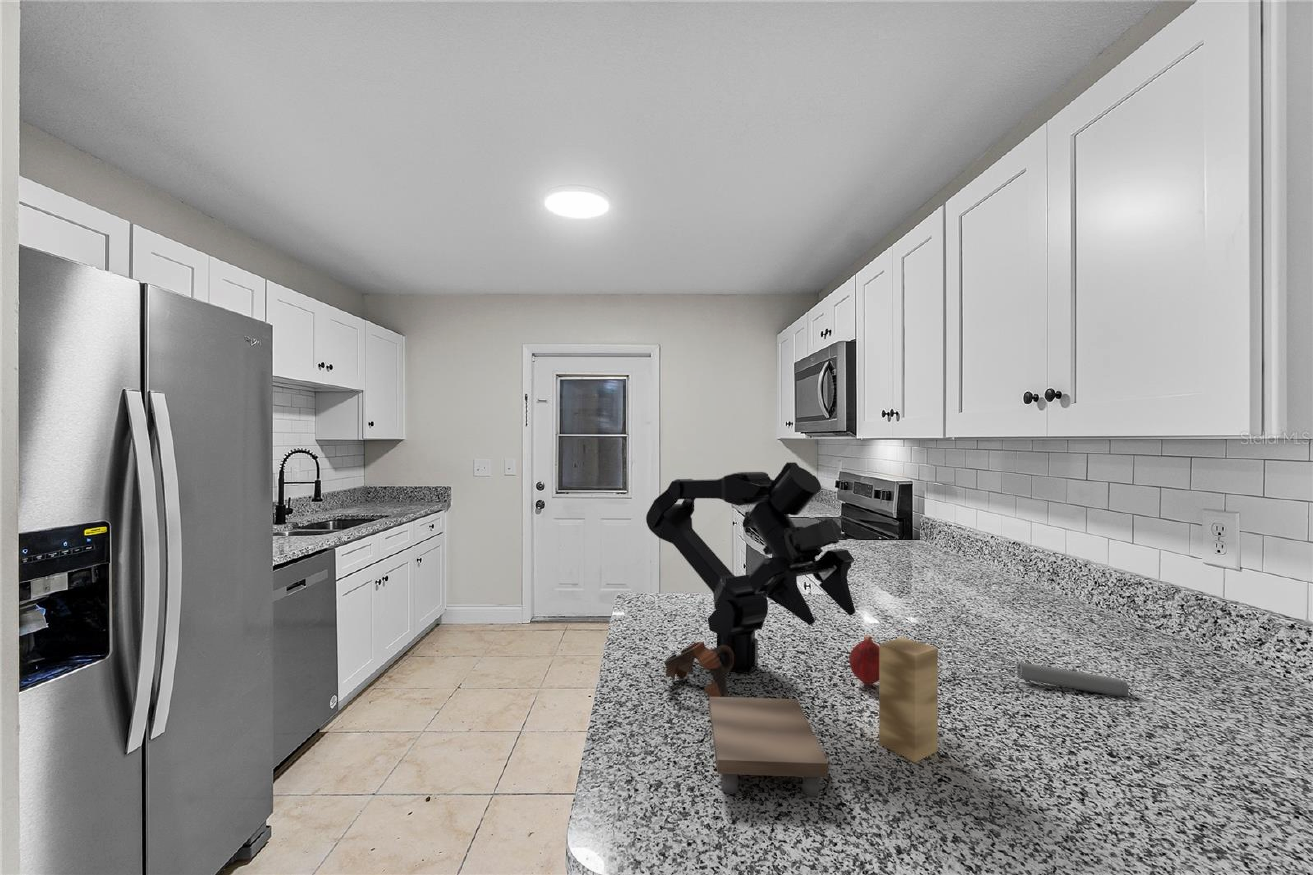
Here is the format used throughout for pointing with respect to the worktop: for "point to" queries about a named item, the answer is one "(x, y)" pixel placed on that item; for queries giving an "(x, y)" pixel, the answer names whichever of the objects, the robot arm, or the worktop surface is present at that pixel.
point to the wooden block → (908, 698)
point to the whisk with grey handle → (1052, 675)
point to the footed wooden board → (765, 741)
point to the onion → (865, 661)
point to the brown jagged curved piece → (703, 665)
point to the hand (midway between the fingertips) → (833, 618)
